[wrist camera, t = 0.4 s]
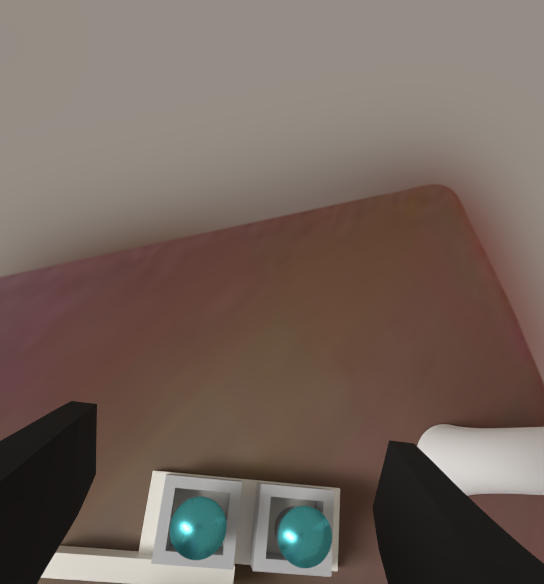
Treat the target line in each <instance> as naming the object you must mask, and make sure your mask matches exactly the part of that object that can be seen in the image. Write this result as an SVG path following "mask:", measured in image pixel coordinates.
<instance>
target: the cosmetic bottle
mask: <svg viewBox="0 0 544 584" xmlns="http://www.w3.org/2000/svg"><path fill="white" fill-rule="evenodd" d="M417 447H418V448H419V449H420V450H421V451H422V452H423V453H424V454H425V455H427V456H428V457H429V458H430V459H431V460H432V461H433V462H434V463H435V464H436V465H437V466H438V467H439V468H440V469H441V470H442V471H443V472H444V473H445V474H446V475H447V476H448V477H449V478H450V480H451V481H452V482H454V483H455V484H456V485H457V486H458V487H459V488H460V489H461V490H462V491H463V492H464V493H465V494H466V495H467V496H468V495H474V494H492V493H502V494H532V495H544V427H522V428H467V427H459V426H454V425H449V424H439V425H435V426H433V427H431V428H429V429H428V430H427V431H426V432H425V433H424V434H423V435H422V436H421V438H420V440H419V442H418V445H417Z"/></svg>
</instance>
